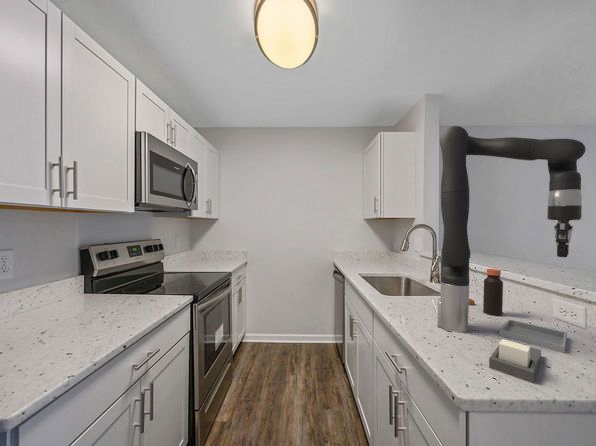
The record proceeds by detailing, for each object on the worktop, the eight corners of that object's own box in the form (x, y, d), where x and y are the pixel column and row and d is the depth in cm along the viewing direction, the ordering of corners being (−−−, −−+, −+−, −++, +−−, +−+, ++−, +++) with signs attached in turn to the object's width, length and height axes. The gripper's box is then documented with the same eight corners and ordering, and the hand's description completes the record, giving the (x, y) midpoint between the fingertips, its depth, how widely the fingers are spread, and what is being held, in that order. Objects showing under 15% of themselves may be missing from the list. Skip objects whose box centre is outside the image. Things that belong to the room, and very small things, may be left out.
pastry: (473, 303, 131) (473, 295, 131) (475, 307, 125) (476, 299, 125) (451, 300, 135) (451, 293, 135) (453, 304, 129) (453, 296, 129)
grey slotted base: (489, 367, 71) (489, 355, 71) (502, 347, 83) (503, 336, 83) (533, 383, 65) (533, 369, 64) (541, 358, 77) (541, 347, 77)
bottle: (481, 314, 114) (482, 269, 114) (485, 311, 119) (486, 267, 118) (500, 318, 109) (501, 271, 109) (503, 315, 113) (505, 270, 113)
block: (498, 365, 72) (499, 343, 72) (502, 359, 75) (502, 338, 75) (527, 374, 67) (527, 351, 67) (529, 368, 70) (530, 346, 70)
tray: (499, 336, 91) (499, 329, 91) (508, 325, 102) (508, 319, 102) (564, 354, 79) (564, 346, 79) (566, 339, 90) (566, 332, 90)
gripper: (549, 206, 89) (548, 253, 89) (545, 204, 80) (544, 256, 80) (581, 206, 84) (580, 255, 84) (581, 203, 74) (580, 259, 74)
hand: (562, 256), depth 82 cm, fingers open, 8 cm apart
